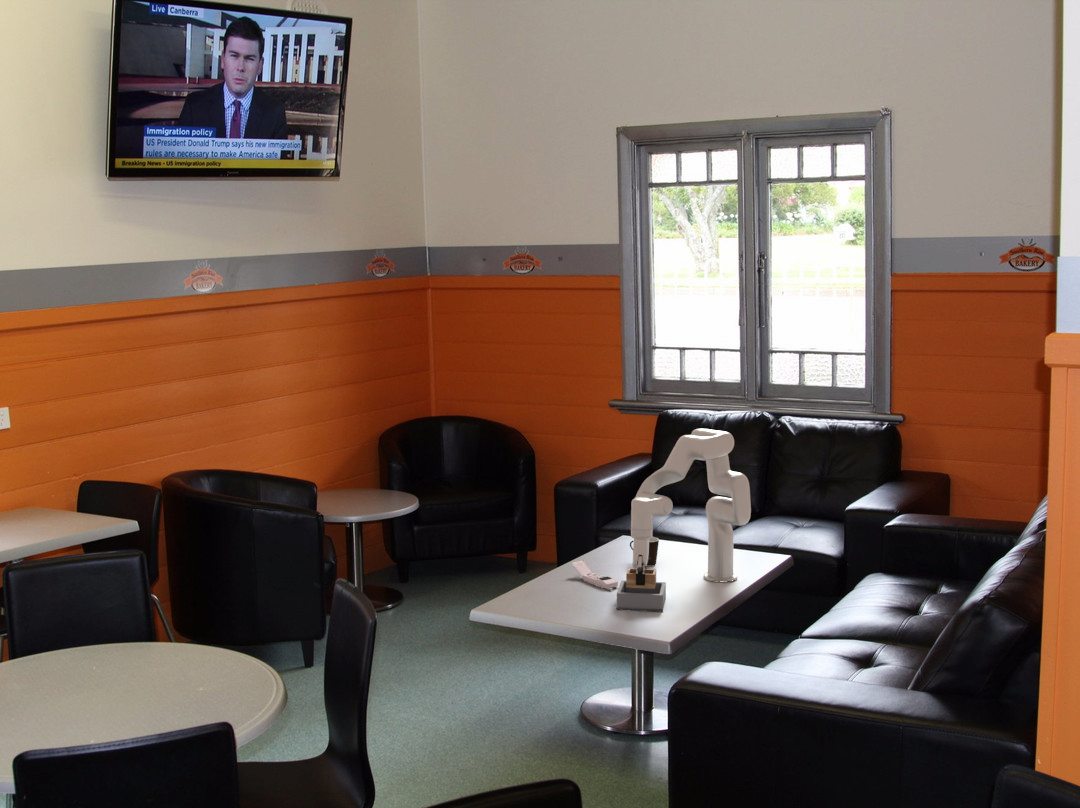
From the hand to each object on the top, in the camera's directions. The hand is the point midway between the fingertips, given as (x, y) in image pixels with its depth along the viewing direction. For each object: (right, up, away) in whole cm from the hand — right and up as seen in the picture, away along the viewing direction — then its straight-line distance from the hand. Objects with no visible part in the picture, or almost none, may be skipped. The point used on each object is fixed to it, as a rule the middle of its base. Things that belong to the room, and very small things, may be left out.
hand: (641, 581), depth 405 cm
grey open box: (0, -8, +1) cm, 8 cm away
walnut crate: (0, -1, 0) cm, 1 cm away
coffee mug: (+7, -1, +55) cm, 56 cm away
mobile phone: (-15, -5, +29) cm, 33 cm away
